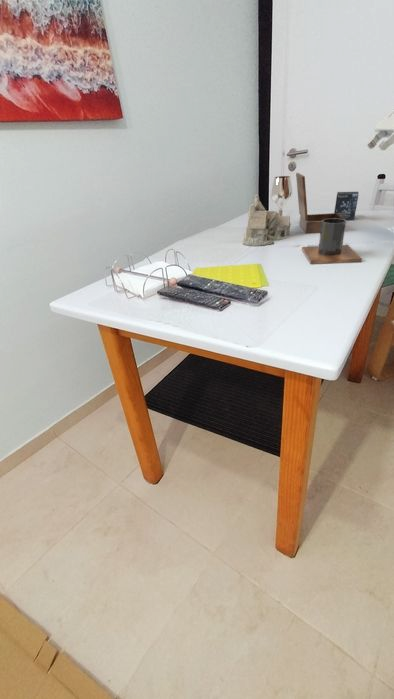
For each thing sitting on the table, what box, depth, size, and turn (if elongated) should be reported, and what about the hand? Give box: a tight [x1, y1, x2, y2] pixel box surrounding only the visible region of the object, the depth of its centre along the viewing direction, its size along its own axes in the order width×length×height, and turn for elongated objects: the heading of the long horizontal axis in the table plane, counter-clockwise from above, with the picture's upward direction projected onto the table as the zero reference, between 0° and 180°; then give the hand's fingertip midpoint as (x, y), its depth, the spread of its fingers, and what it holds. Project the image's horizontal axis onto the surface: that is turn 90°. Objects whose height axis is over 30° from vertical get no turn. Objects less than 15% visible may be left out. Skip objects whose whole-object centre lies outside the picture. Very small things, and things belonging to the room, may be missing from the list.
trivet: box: [301, 244, 363, 265], centre depth 101 cm, size 14×14×1 cm
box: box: [333, 191, 360, 221], centre depth 134 cm, size 8×6×11 cm
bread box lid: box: [295, 172, 309, 221], centre depth 120 cm, size 14×13×1 cm
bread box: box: [299, 212, 347, 235], centre depth 125 cm, size 14×13×5 cm
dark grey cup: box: [318, 218, 347, 255], centre depth 98 cm, size 6×6×9 cm
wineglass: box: [270, 175, 293, 210], centre depth 131 cm, size 8×8×18 cm
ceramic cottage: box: [242, 194, 292, 247], centre depth 117 cm, size 16×16×15 cm
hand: (374, 148), depth 99 cm, fingers open, 8 cm apart
